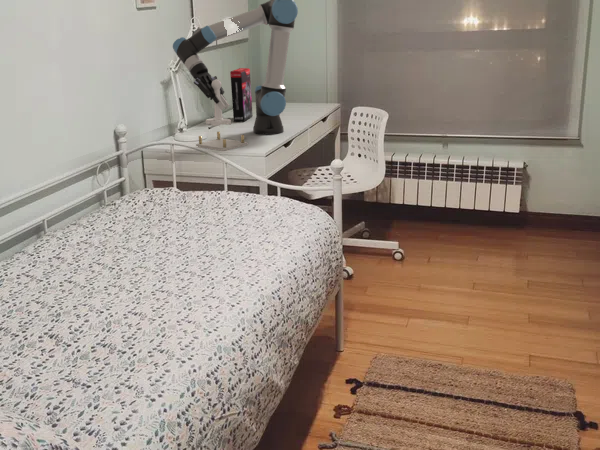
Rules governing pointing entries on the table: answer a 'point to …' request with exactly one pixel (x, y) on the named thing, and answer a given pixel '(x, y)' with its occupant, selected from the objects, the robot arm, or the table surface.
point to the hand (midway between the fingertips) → (225, 107)
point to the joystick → (217, 107)
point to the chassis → (221, 143)
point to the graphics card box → (241, 94)
